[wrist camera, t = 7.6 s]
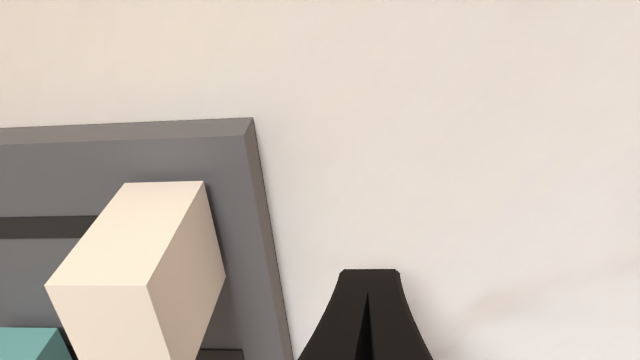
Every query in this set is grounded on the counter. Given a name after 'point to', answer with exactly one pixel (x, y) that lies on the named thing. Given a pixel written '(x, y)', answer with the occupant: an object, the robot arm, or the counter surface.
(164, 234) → the ivory fader
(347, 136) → the counter surface
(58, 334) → the teal fader
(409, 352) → the robot arm
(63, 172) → the fader console
